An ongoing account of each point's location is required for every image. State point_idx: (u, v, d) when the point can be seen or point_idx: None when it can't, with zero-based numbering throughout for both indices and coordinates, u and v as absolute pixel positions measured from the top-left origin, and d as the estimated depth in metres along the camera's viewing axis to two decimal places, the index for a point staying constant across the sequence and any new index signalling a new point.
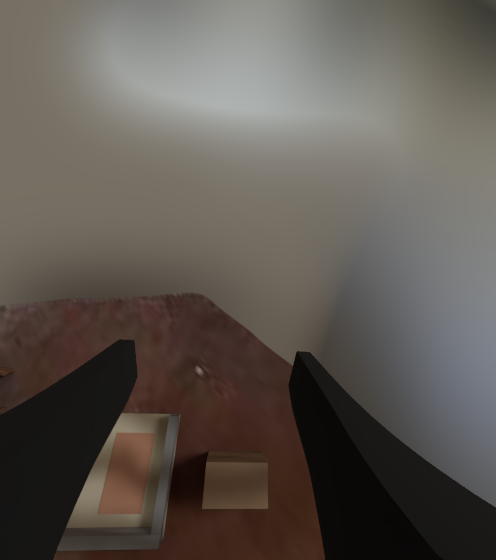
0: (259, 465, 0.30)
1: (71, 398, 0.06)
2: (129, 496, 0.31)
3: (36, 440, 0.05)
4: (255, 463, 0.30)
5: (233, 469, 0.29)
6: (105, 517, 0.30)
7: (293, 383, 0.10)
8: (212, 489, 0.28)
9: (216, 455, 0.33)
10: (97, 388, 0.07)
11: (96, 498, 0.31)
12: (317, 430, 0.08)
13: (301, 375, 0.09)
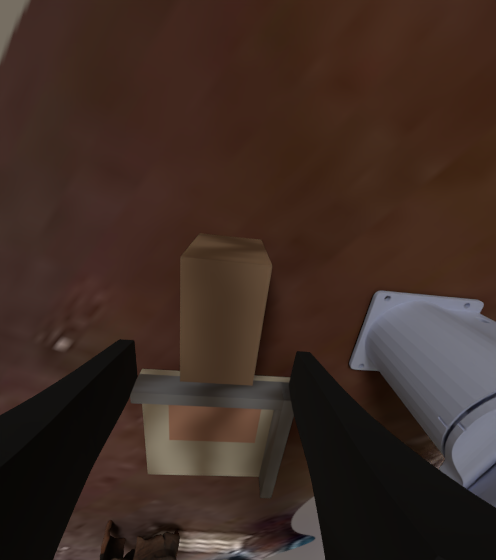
0: (185, 279, 0.11)
1: (71, 398, 0.06)
2: (242, 419, 0.23)
3: (36, 440, 0.05)
4: (182, 286, 0.12)
5: (192, 334, 0.13)
6: (259, 435, 0.24)
7: (293, 383, 0.10)
8: (224, 371, 0.14)
9: None
10: (97, 388, 0.07)
11: (240, 445, 0.25)
12: (317, 430, 0.08)
13: (301, 375, 0.09)
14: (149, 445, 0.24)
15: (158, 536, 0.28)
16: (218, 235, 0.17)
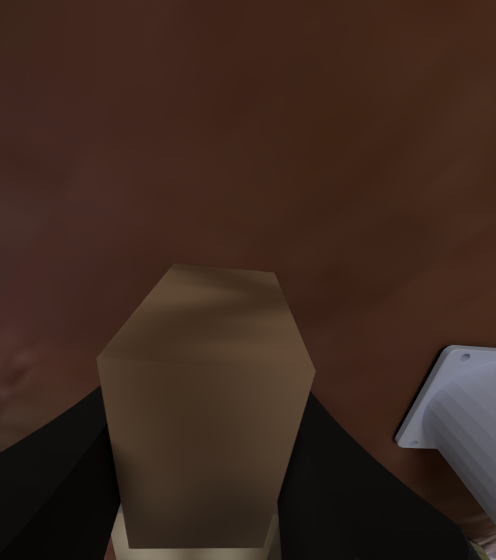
0: (116, 400, 0.05)
1: None
2: None
3: (96, 442, 0.05)
4: (111, 413, 0.05)
5: (144, 487, 0.06)
6: None
7: None
8: (212, 533, 0.07)
9: None
10: None
11: None
12: None
13: None
14: (117, 538, 0.18)
15: None
16: (204, 267, 0.10)
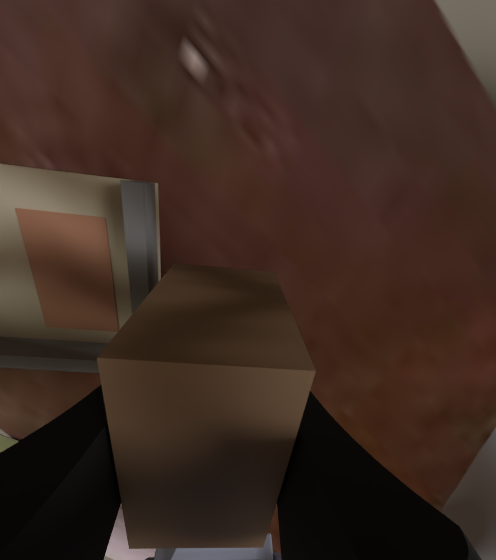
0: (116, 400, 0.05)
1: None
2: (90, 311, 0.18)
3: (96, 442, 0.05)
4: (111, 413, 0.05)
5: (144, 487, 0.06)
6: (61, 331, 0.18)
7: None
8: (212, 533, 0.07)
9: None
10: None
11: (33, 308, 0.17)
12: None
13: None
14: None
15: None
16: (204, 267, 0.10)
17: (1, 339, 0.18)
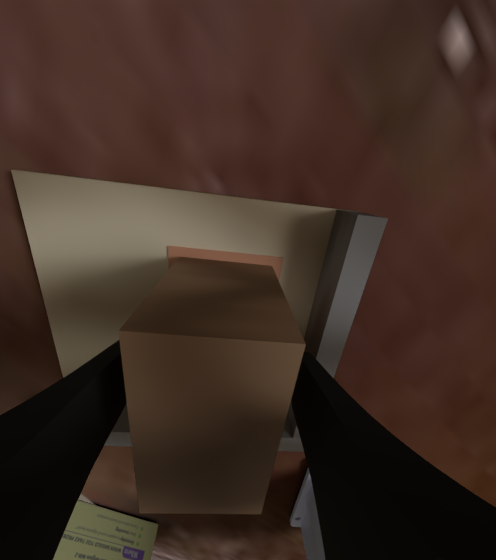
0: (133, 369, 0.06)
1: (71, 398, 0.06)
2: None
3: (36, 440, 0.05)
4: (128, 381, 0.06)
5: (155, 452, 0.07)
6: None
7: None
8: (215, 498, 0.08)
9: None
10: (97, 388, 0.07)
11: None
12: (317, 430, 0.08)
13: (301, 375, 0.09)
14: (140, 195, 0.10)
15: None
16: (207, 260, 0.11)
17: None
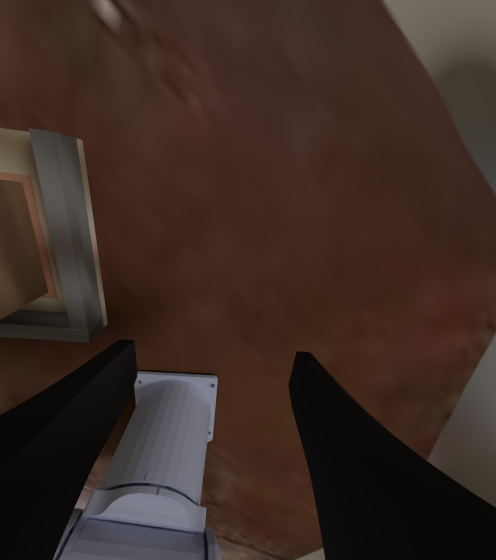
0: None
1: (71, 398, 0.06)
2: None
3: (36, 440, 0.05)
4: None
5: None
6: None
7: (293, 383, 0.10)
8: None
9: None
10: (97, 388, 0.07)
11: None
12: (317, 430, 0.08)
13: (301, 375, 0.09)
14: None
15: None
16: None
17: None
